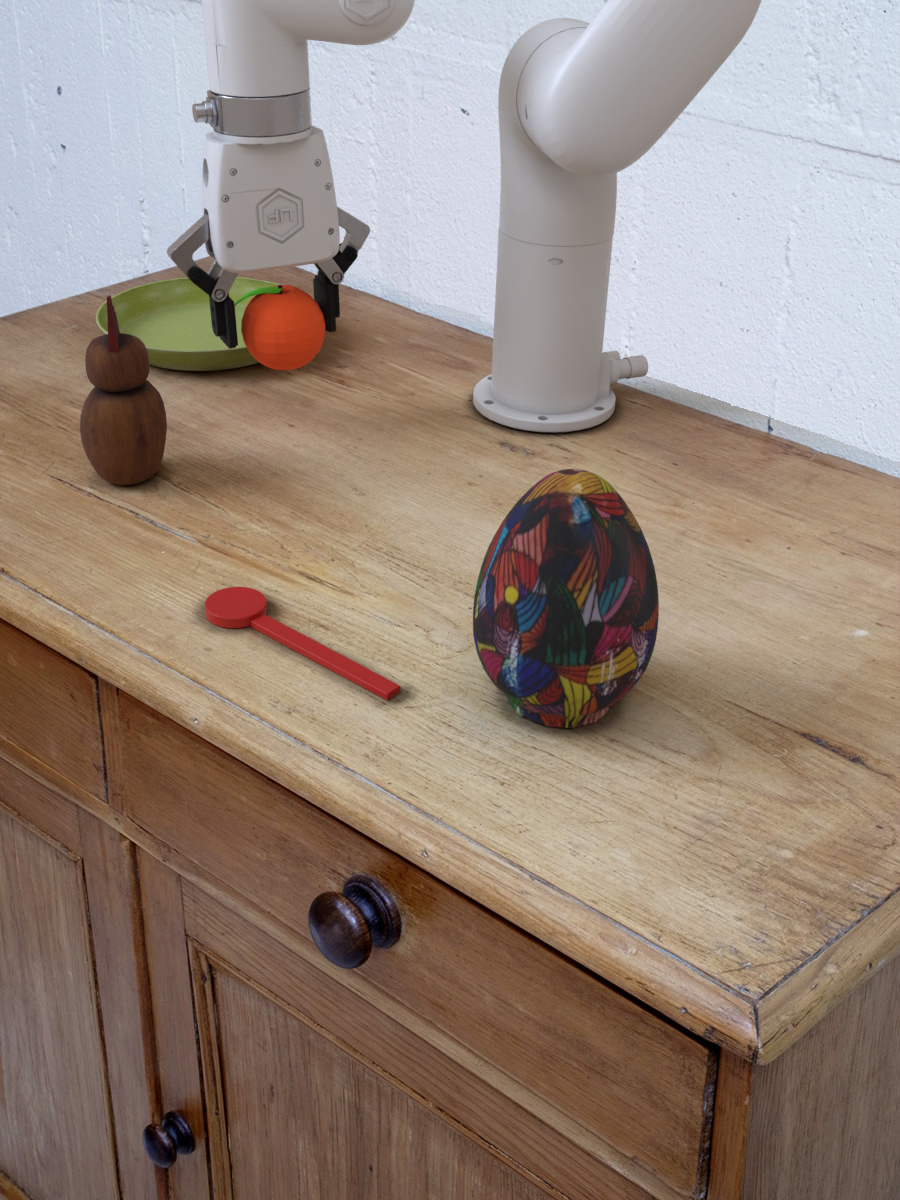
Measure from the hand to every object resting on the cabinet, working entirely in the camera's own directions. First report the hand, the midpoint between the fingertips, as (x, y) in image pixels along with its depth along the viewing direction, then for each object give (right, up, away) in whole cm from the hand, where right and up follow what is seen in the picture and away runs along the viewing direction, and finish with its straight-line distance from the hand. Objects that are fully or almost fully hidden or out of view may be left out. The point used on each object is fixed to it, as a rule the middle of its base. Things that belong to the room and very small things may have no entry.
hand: (277, 333), depth 109 cm
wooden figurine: (-11, -12, -6) cm, 17 cm away
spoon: (+5, -25, -26) cm, 36 cm away
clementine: (0, -3, +2) cm, 3 cm away
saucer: (-9, +3, +19) cm, 22 cm away
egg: (+21, -28, -30) cm, 46 cm away
